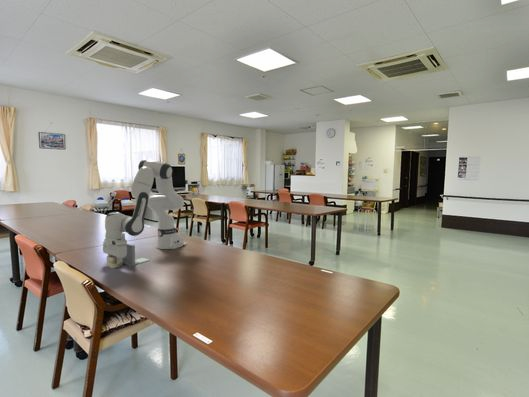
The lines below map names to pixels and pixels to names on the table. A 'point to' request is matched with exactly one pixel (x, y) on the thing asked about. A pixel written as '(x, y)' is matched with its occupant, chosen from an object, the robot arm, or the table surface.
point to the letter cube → (113, 262)
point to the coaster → (142, 260)
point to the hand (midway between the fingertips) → (114, 262)
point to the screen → (130, 255)
